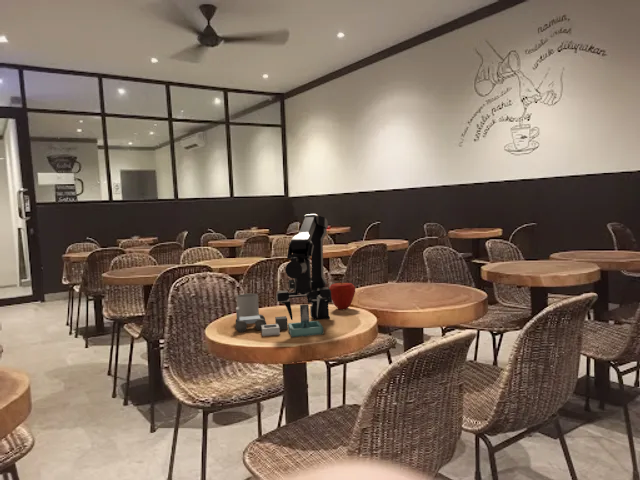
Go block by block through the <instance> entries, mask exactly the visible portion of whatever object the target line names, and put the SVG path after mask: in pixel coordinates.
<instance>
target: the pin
mask: <svg viewBox="0 0 640 480" xmlns="http://www.w3.org/2000/svg"><path fill="white" fill-rule="evenodd" d="M309 307H310V306H309V303H307V304H306V303H303V304H299V309H300V310H299V312H300V313H299V314H300V316H299V317H300V322H301V328H310V324H309V321H310V308H309Z"/></svg>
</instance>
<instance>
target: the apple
mask: <svg viewBox="0 0 640 480" xmlns="http://www.w3.org/2000/svg"><path fill="white" fill-rule="evenodd" d="M328 288H329V289H330V290H331V297H332V303H333V304H334V306H335V307H336V308H337V309H338V310H343V309H344V310H347V309H348V308H349V307H350V306H351V305H352V303H353V300H354V297H355V294H356V286H355V285H354V284H353V283H351V282H343V281H341V282H337V283H332V284H330V285H329V286H328ZM346 308H347V309H346Z"/></svg>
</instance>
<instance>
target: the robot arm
mask: <svg viewBox="0 0 640 480" xmlns="http://www.w3.org/2000/svg"><path fill="white" fill-rule="evenodd" d="M328 226H329V223H328V219H327V218H326V217H325V216H322V215H318V214H316V213H310V214H309V213H308V214H305V215H303V221H302V224H301V227H300V230H299V232H298V233H297V234H295V235H294V236H293V237H292V238H291V240H290V242H289V243H288V249H287V250H288V251H287V256H286V259H287V260H290V261H289V262H288V263H287V264H286V266H285V270H284V271H285V273H286V275H287V276H288V277H289V278H291V279H288V290H293V292H292V291H291V292H289V291H288V290H277V291H276V293H275V296H276V297H275V298H276V301H277V302H280V303H281V304H283V305H285V307H286V309H287V311H288V315H289V318H290V320H291V321H293V311H292V306H291V301H290V298H291V299H292V298H304V297H305V298H307V304H311V305H310V306H309V307H310V308H309V314H310V317H311V318H312V319H313V320H321V319H322V320H323V319H330V318H331V317H330V314H329V310H330V309H329V303H333V301H332V297H331V290H330V289H329V286H328V282H327V280H326V278H325V277H324V244H323V243H324V242H323V240H324V238H325V236H326V235H327V229H328Z"/></svg>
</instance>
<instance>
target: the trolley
mask: <svg viewBox="0 0 640 480" xmlns="http://www.w3.org/2000/svg"><path fill="white" fill-rule="evenodd" d="M235 312H236V313H235V314H236V319H235V330H236V331H237V332H239V333H244V332H246V330H247V329H248V325H250V324H254V325H255V328H256V330H258V331H260V332H262V330H261V325H267V321H266V318H265V316H264V315H263V314H260V313H259V315H257V316H247V317H243V316H239V307H237V306H236V307H235Z"/></svg>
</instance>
